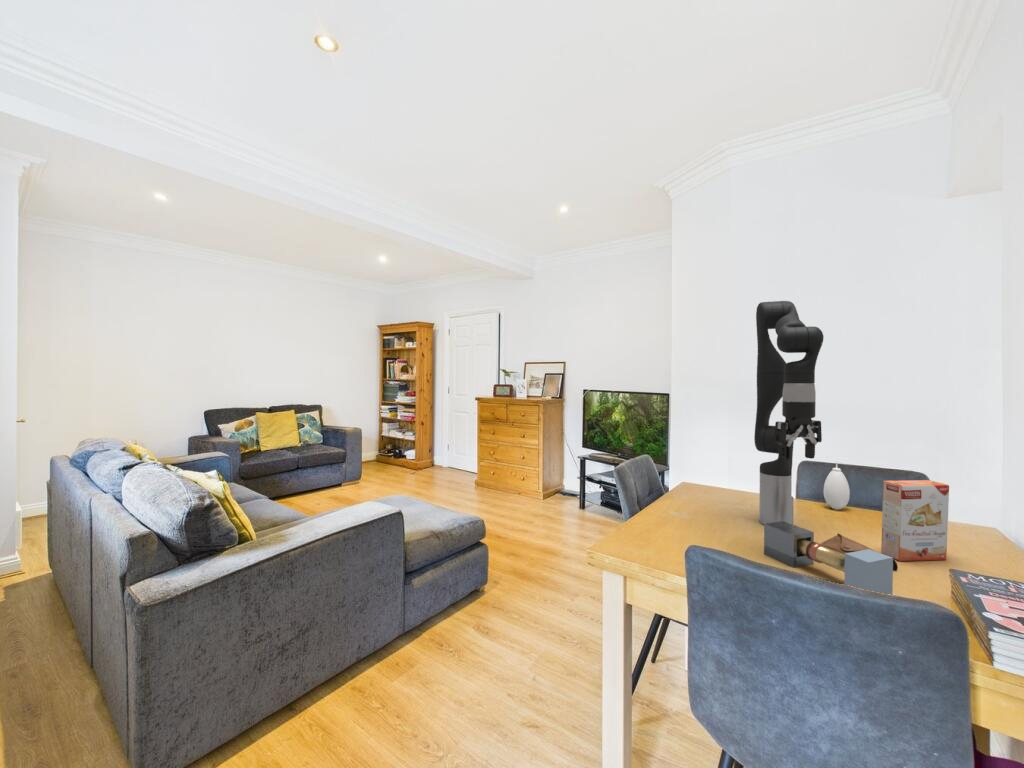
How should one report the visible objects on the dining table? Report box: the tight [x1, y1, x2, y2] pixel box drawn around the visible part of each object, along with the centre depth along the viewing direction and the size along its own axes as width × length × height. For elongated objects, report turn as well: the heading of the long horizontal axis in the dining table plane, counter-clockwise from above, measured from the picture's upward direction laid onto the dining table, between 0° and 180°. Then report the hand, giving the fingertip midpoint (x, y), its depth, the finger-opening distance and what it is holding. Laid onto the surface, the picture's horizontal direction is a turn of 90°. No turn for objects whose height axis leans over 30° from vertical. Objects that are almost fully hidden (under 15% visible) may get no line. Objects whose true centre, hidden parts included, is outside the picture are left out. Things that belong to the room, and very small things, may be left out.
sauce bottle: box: [823, 461, 851, 511], centre depth 160 cm, size 8×8×18 cm
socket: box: [844, 549, 894, 595], centre depth 98 cm, size 8×5×9 cm, turn 108°
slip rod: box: [797, 538, 845, 573], centre depth 112 cm, size 5×19×5 cm, turn 18°
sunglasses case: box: [820, 533, 898, 572], centre depth 118 cm, size 18×7×7 cm, turn 6°
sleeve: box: [763, 521, 815, 568], centre depth 117 cm, size 7×9×9 cm
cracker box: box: [880, 479, 950, 562], centre depth 118 cm, size 14×6×21 cm, turn 94°
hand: (798, 458), depth 117 cm, fingers open, 8 cm apart
